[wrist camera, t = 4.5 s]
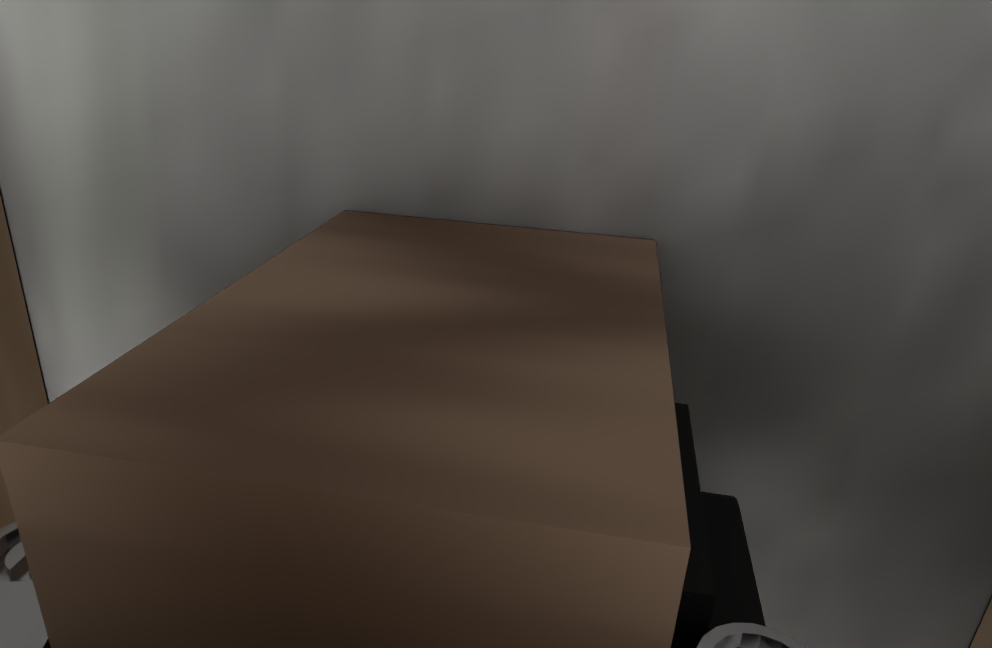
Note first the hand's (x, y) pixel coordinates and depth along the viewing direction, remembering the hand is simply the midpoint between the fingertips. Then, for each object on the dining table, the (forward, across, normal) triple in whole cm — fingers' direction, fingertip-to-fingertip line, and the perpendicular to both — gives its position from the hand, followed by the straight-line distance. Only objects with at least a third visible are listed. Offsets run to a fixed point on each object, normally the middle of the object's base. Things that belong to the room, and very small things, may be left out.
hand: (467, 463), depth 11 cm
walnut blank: (+2, 0, 0) cm, 2 cm away
